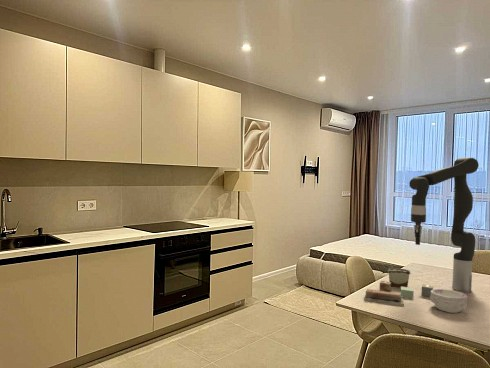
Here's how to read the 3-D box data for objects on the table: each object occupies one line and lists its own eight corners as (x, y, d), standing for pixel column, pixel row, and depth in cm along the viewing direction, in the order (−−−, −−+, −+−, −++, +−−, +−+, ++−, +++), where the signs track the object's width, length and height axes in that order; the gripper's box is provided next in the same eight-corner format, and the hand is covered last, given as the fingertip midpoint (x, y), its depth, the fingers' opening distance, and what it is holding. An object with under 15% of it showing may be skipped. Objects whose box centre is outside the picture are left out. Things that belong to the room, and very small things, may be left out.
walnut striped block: (390, 291, 195) (391, 282, 195) (389, 293, 191) (389, 284, 191) (381, 289, 198) (381, 280, 198) (379, 291, 194) (379, 282, 193)
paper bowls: (433, 301, 180) (434, 286, 180) (468, 309, 171) (469, 293, 171) (426, 309, 169) (427, 292, 168) (463, 318, 159) (464, 300, 159)
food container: (406, 285, 208) (406, 268, 208) (409, 288, 202) (410, 271, 201) (384, 284, 209) (385, 267, 209) (387, 287, 203) (388, 269, 203)
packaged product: (365, 292, 178) (365, 286, 187) (364, 301, 178) (365, 295, 187) (404, 297, 171) (403, 291, 181) (404, 307, 171) (402, 301, 181)
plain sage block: (412, 295, 189) (413, 288, 189) (413, 299, 184) (413, 291, 184) (400, 293, 192) (401, 286, 192) (400, 297, 186) (400, 289, 186)
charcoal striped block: (432, 295, 191) (433, 285, 191) (432, 297, 187) (432, 288, 187) (422, 293, 194) (422, 284, 194) (421, 295, 189) (421, 286, 189)
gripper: (425, 214, 190) (424, 247, 190) (426, 212, 202) (426, 243, 202) (409, 214, 194) (409, 245, 194) (412, 212, 205) (411, 242, 206)
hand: (417, 244), depth 198 cm, fingers closed
